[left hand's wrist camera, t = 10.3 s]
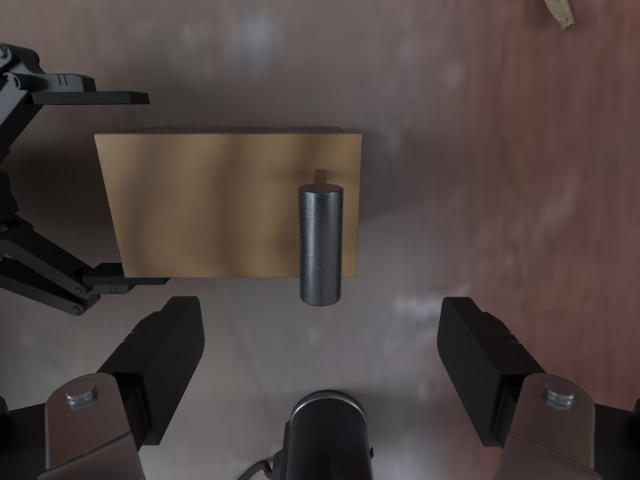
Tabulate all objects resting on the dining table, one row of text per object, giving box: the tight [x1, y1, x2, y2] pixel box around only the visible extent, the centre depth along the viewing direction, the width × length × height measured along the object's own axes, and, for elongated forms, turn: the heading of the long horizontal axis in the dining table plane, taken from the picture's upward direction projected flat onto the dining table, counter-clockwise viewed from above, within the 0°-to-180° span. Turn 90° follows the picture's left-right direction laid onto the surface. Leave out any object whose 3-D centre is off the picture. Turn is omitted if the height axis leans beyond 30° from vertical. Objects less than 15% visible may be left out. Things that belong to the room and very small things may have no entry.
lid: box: [94, 133, 362, 306], centre depth 21 cm, size 17×10×9 cm, turn 90°
